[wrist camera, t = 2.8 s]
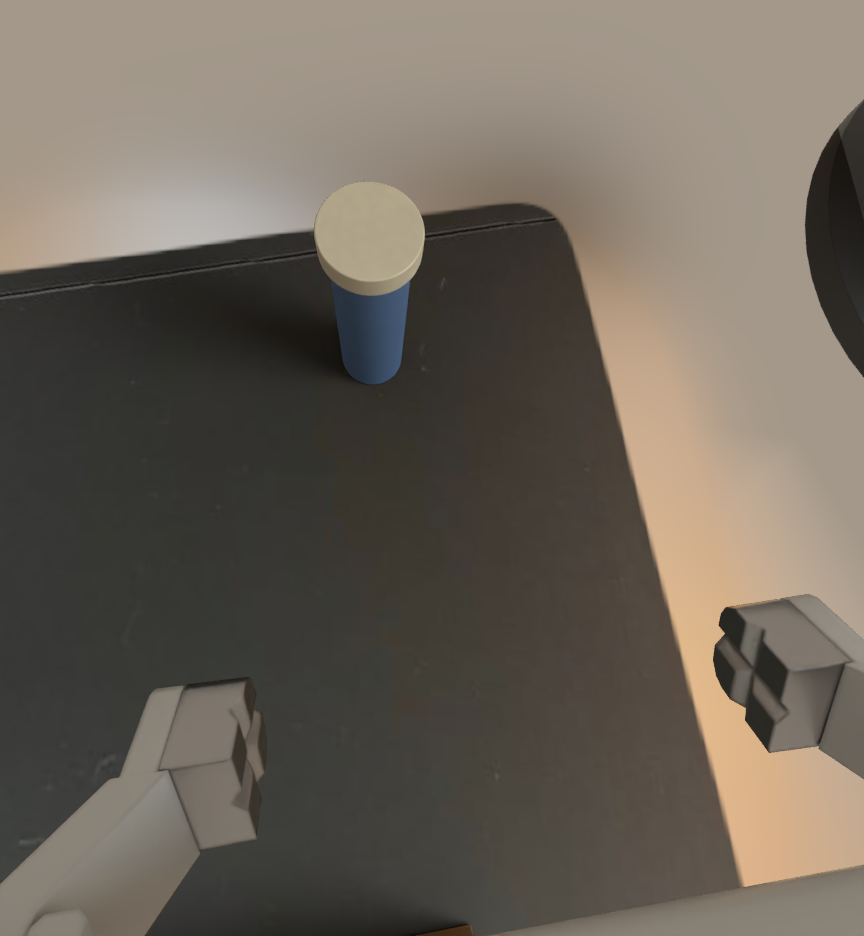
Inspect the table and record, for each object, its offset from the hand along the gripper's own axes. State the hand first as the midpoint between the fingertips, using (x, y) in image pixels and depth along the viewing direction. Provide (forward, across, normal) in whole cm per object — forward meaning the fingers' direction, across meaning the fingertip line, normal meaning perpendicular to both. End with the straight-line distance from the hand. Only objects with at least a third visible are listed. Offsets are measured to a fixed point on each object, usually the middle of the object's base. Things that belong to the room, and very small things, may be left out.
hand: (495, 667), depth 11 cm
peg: (+21, +1, 0) cm, 21 cm away
